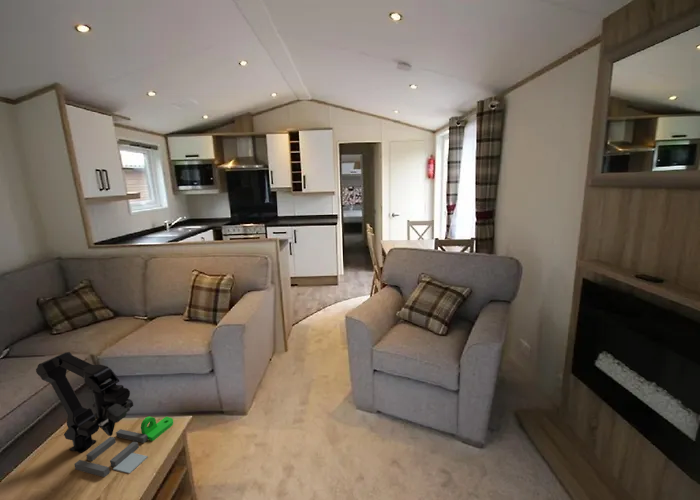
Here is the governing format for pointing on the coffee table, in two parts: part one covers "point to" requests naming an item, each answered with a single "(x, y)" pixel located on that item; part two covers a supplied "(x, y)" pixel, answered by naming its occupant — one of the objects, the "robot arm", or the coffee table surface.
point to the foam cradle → (104, 470)
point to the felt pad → (130, 463)
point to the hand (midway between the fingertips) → (110, 435)
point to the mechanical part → (155, 427)
